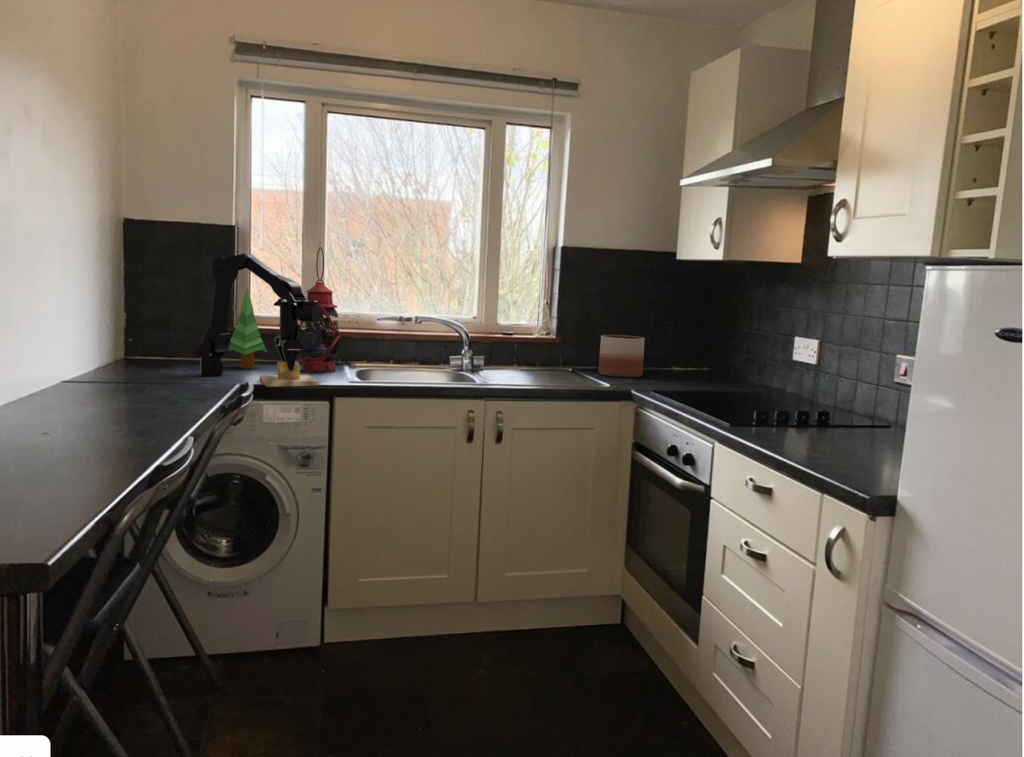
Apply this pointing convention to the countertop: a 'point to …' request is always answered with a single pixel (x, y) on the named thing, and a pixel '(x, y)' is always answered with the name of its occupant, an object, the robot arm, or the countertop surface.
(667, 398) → the countertop surface
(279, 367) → the wooden crate frame
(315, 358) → the lantern
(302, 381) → the post board
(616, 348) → the planter
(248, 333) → the decorative tree
